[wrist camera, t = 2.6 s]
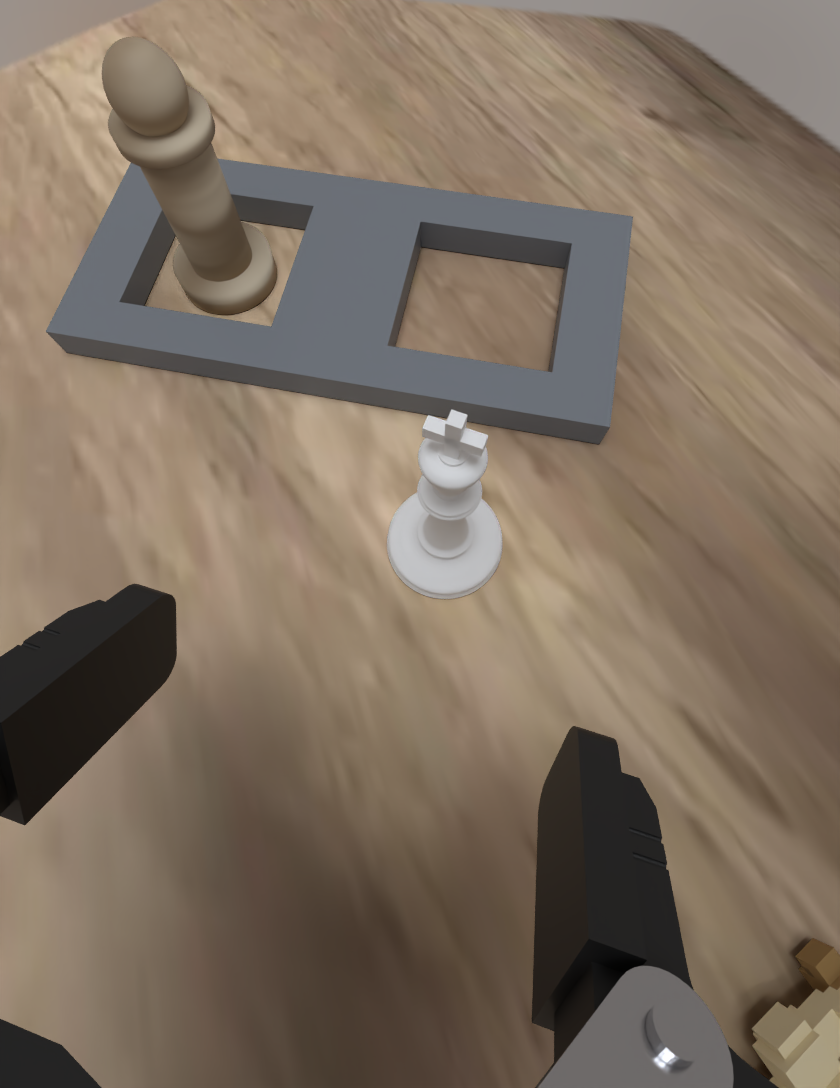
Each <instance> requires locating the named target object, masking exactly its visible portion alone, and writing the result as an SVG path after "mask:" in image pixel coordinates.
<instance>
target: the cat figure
mask: <svg viewBox="0 0 840 1088" xmlns="http://www.w3.org/2000/svg"><path fill="white" fill-rule="evenodd" d="M795 957H796V959H797V960H798V961H799V963H800V964H801V965H802V966H801V967H800V968H799V971H800V972H801V973H802V975H803V976H804V977H805V979H806V980H807V982H808V983H809V984H810V986H811V987H812V988H813V990H814V992H813V993H812V994H811V995H810V996H809V997H808V998H807V999H806V1000H805V1001H804V1002H803V1003H802V1004H801V1006H800V1007H799V1008H798V1009H797V1008H795V1007H794V1006H792V1005H790V1006H789V1007H788V1008H786V1007H785V1006H783V1005H782V1004H780V1003H779V1002H777V1003H776V1004H775V1005H774V1006H773V1007H772V1008H771V1009H770V1010H769V1011H768V1012H767V1013H766V1014H765V1015H764V1016H763V1017H762V1018H761V1019H760V1020H759V1022H758V1023H757V1024H756V1025H755V1026H754V1027H753V1028H752V1030H753V1031H754V1033H753V1035H754V1037H755V1038H756V1040H757V1041H756V1042H755V1043H754V1044H753V1045H752V1046H753V1048H754V1049H755V1051H756V1052H757V1054H758V1055H759V1056H760V1058H761V1059H762V1061H763V1062H764V1064H765V1065H766V1067H767V1068H768V1069H769V1071H770V1072H771V1074H772V1075H773V1077H772V1078H771V1079H770V1080H769V1081H771V1082H772V1083H773V1084H775V1085H776V1086H777V1087H779V1088H840V1058H839V1057H840V955H839V954H838V953H837V951H836V950H835V949H834V948H833V947H831V946H829V945H827V944H825V943H822V942H820V941H818V940H816V939H814V938H812V939H811V940H810V941H809V943H808V944H807V945H806V946H805V947H804V948H803V949H802V950H801V951H800V952H799V953H798V954H797V955H796V956H795Z"/></svg>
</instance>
